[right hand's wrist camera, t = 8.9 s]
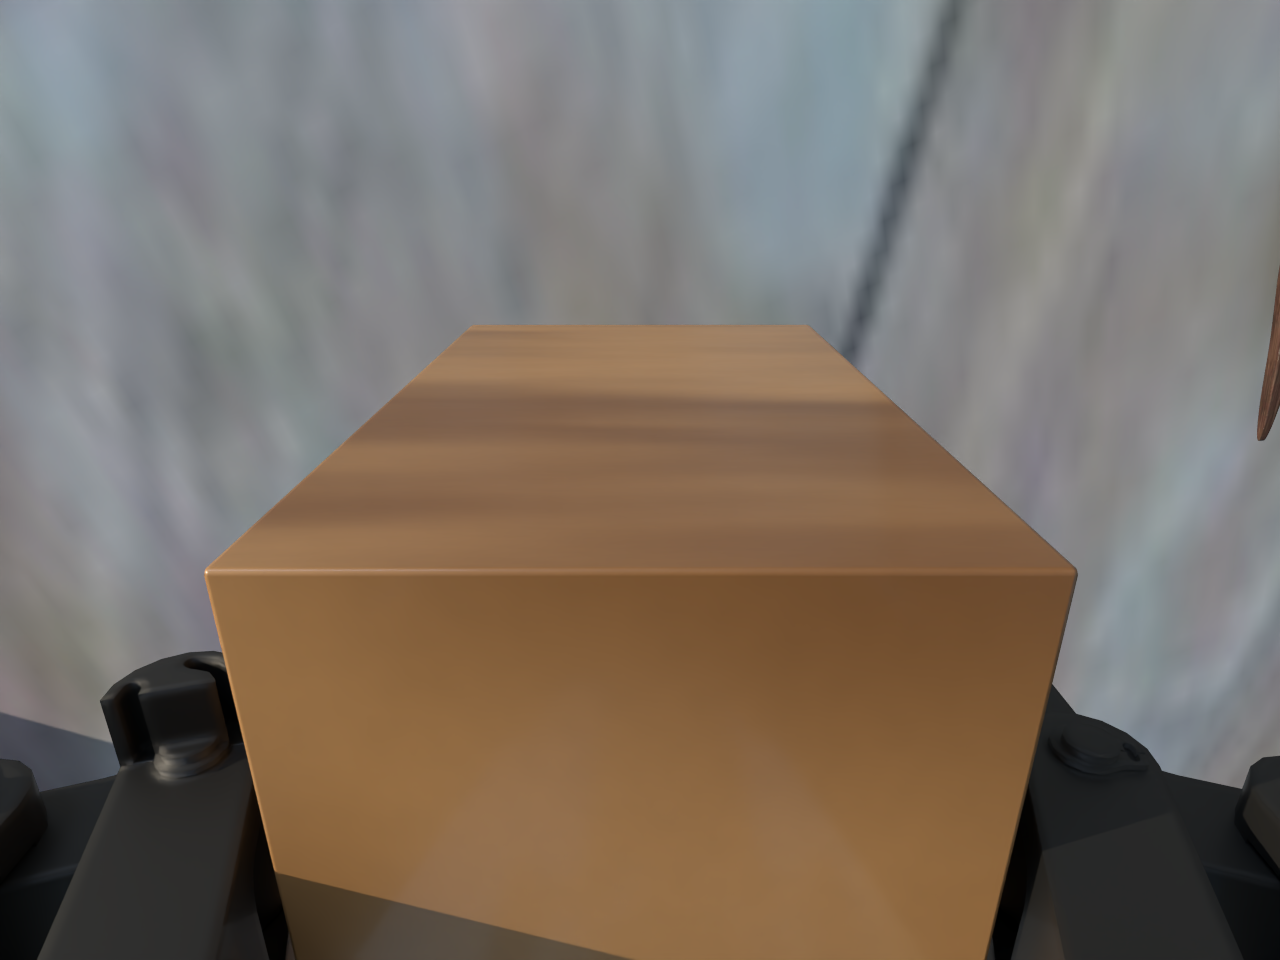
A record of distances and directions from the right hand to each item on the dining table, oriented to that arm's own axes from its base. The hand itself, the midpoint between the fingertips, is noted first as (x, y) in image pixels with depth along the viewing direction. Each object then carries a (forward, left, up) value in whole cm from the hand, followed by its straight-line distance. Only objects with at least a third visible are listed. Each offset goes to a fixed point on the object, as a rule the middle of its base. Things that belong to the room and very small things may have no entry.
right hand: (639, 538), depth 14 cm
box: (+2, +7, -1) cm, 7 cm away
